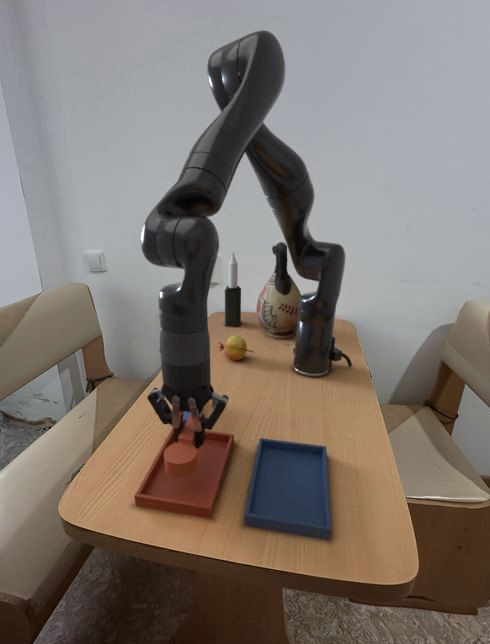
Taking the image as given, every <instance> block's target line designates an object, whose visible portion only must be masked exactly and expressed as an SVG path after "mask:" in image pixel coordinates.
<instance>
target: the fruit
mask: <svg viewBox="0 0 490 644" xmlns="http://www.w3.org/2000/svg"><path fill="white" fill-rule="evenodd" d="M219 345H220V346H219V347H218V348H219V352H221V351H223V352H224V356H225V357H226V358H227V359H229V360H231V361H239V360H241V359H243V358H244V357H245V355H246V353H247V352H250V353H251V354H253V353H254V351H253V350H251V349H250V350H249V349H247V342H246V340H245V339H244V338H243V337H241V336H240V335H232V336H230V337H228V338H227V340H226V342H225V343H222V342H219Z"/></svg>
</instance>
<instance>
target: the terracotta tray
mask: <svg viewBox="0 0 490 644" xmlns="http://www.w3.org/2000/svg"><path fill="white" fill-rule="evenodd" d="M234 436H235V435H234V433H227V432H221V431H219V432H218V431H211V430H205V441H204V443H203V445H202V446H200V448H199V449H197V461H198V467H197V469H196V471H195V472H194V473H193V474H192V475H190V476H187V477H183V478H176V477H172V476H170V475H169V474H168V473H167V472H166V470H165V461H164V452H165V450H166V448H167V447H168V446H170V445H172V444H174V443H176V442H175V440H174V428H173V427H172V428H171V430H170V432H169V433H168V435H167V437H166V438H165V441H164V442H163V444H162V446H161V448H160V449H159V452H158V453H157V455H156V457H155V458H154V460H153V462H152V464H151V466H150V467H149V469H148V470H147V473H146V474H145V477H144V479H143V480H142V481H141V483H140V485H139V487H138V489H137V490H136V492H135V494H134V495H133V496H134V503H135V506H136V507H139V508H146V509H151V510H158V511H163V512H168V513H169V512H170V513H174V514H181V515H187V516H192V517H198V518H204V519H211V520H212V518H213V515H214V511H215V508H216V505H217V501H218V497H219V495H220V491H221V487H222V484H223V481H224V477H225V474H226V471H227V467H228V464H229V460H230V457H231V454H232V450H233V447H234V443H235V437H234Z"/></svg>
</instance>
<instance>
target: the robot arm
mask: <svg viewBox="0 0 490 644" xmlns="http://www.w3.org/2000/svg"><path fill="white" fill-rule="evenodd" d="M206 70H207V79H208V85H209V88H210V91H211V94H212V96H213V98H214V101H215V103H216V105H217V107H218V109H219V110H220V113H219V114H218V115H217V116H216V118H215V119H214V120H213V121H212V122H211V123H210V124H208V126H207V127H206V128H205V130H204V131H203V132H202V133H201V134H200V135H199V137H198V138H197V140H196V141H195V142H194V144H193V145H192V147H191V149H190V150H189V153H188V155H187V158H186V160H185V162H184V165H183V166H182V168H181V171H180V173H179V176H178V178H177V180H176V182H175V183H174V184H173V185H172V186H171V188H170V189H168V190H167V192H166V193H165V194H164V195H163V196H162V198H160V200H159V201H158V202H157V203H156V205H155V206H154V207H153V208H152V210H151V211H150V212H149V214H148V215H147V216H146V219H145V220H144V223H143V225H142V228H141V233H140V248H141V252H142V254H143V256H144V258H145V259H146V261H148V262H149V263H150V264H152V265H153V266H155V267H160V268H167V269H168V268H169V269H178V270H183V277H182V280H181V282H176V283H170V284H167V285H164V286H163V287H161V289H160V290H159V292H158V295H157V296H158V299H157V300H158V315H159V316H158V317H159V328H160V329H159V354H160V363H161V377H162V378H161V379H162V385H161V386H160V387H159V388H158V387H153V388H152V390H151V391H150V392H149V394H148V395H147V397H146V399H147V401H148V402H149V404H150V405H151V407H152V409H153V410H154V412H155V414H156V415H157V417H158V418H159V420H160V421H161V423H162V424H163V425H165V426H166V425H170V426H171V427H172V428H174V440H175V442H176V443H177V442H178V437H179V435H180V433H181V432H182V430H183V428H184V426H185V422H183V418H184V411H187V412H190V413H191V417H192V420H193V421H194V427H195V431H194V435H195V447H196V448H197V449H199V448H200V446H202V445H203V443H204V441H205V431H211V430H213V428H214V426H215V425H216V424H217V422H218V420H219V418H220V417H221V415H222V414H223V412H224V411H225V409H226V407H227V405H228V402H229V396H228V395H226V394H222V395H219V394H218V393H216V392H215V389H214V387H213V386H212V382H211V381H212V380H211V379H212V378H211V377H212V376H211V339H210V338H211V337H210V332H209V331H210V330H209V319H208V315H209V313H208V300H209V299H208V298H209V293H210V288H211V283H212V278H213V275H214V270H215V267H216V263H217V260H218V255H219V251H220V236H219V233H218V230H217V228H216V226H215V224H214V222H213V221H212V220H211V219H210V217H213V216H215V215H216V214H219V212H220V210H221V209H222V207H223V205H224V202H225V200H226V198H227V195H228V192H229V190H230V188H231V185H232V183H233V179H234V177H235V175H236V172H237V170H238V168H239V165H240V162H241V161H242V159H243V157H244V155H245V156H246V158H247V159H248V162H249V164H250V166H251V168H252V170H253V171H254V172H253V173H254V174H255V176H256V178H257V181H258V182H259V185H260V187H261V190H262V192H263V194H264V197H265V199H266V201H267V203H268V205H269V207H270V209H271V211H272V213H273V215H274V217H275V219H276V221H277V224H278V227H279V229H280V230H281V234H282V235H283V238H284V240H285V245H287V251H288V253H289V255H290V259H291V262H292V265H293V268H294V270H295V271H296V273H297V275H298V276H299V277H301V278H302V279H305V280H309V281H315V282H318V285H317V289H316V291H315V290H314V291H309V292H305V293H303V294H301V296H300V298H299V303H298V316H297V329H296V330H295V341H294V348H293V350H292V351H293V352H292V354H293V364H292V369H293V370H294V372H296V373H297V374H299V375H302V376H304V377H310V378H311V377H312V378H316V377H317V378H318V377H323V376H325V375H327V374H328V373H329V372H330V371H331V372H332V369H333V368H332V367H333V362H339V361H342V358H343V359H345V361H346V363H347V366H348V367H350V368H351V367H353V362H352V360H351V359H350V357H349V356H348V355H347V354H346V353H343V350H341V349H339V348H337V347H335V345H336V336H334V328H335V318H336V313H337V312H336V311H337V304H338V301H339V298H340V294H341V288H342V283H343V279H344V272H345V268H346V259H347V257H346V251H345V248H344V246H343V245H341V244H340V243H336V242H328V241H320V240H316V239H315V238H313V236H312V234H311V232H310V228H309V225H308V224H309V223H308V222H309V218H310V216H311V213H312V210H313V207H314V204H315V196H316V195H315V189H314V185H313V182H312V179H311V176H310V173H309V171H308V168H307V165H306V163H305V161H304V160H303V158H302V157H301V155H299V154H298V153H297V152H296V151H295V150H294V149H293V148H292V147H290V145H288V144H287V143H286V142H284V141H283V140H282V139H280V138H279V137H278V136H277V135H276V134H274V132H272V131H271V130H270V129H269V128H268V126H267V125H266V123H265V119H266V118H267V117H268V115H269V113H270V112H271V110H272V109H273V107H274V106H275V104H276V103H277V101H278V99H279V97H280V95H281V93H282V91H283V88H284V84H285V81H286V60H285V56H284V50H283V48H282V46H281V44H280V42H279V40H278V38H277V36H276V35H274V33H273V32H271V31H268V30H264V29H261V30H257V31H254V32H250V33H248V34H246V35H244V36H242V37H239V38H237V39H235V40H233V41H231V42H229V43H226V44H225V45H223V46H221V47H218V48H217V49H215V50H214V51H213V52H211V54H210V56H209V58H208V61H207V69H206ZM209 401H211V402H212V404H211V407H212V409H213V410H212V411H211V413H210V415H209V416H208V417H206V413H205V410H206V408H205V406H206V405H207V404H208V403H209ZM169 404H170V405H171V406H172V407H170V405H169ZM204 413H205V414H204Z"/></svg>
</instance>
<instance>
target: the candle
mask: <svg viewBox="0 0 490 644" xmlns="http://www.w3.org/2000/svg"><path fill="white" fill-rule="evenodd" d="M238 268H239V267H238V261H237V260H236V256H235V252H234V251H233V252H232V253H231V257H230V260H229V262H228V285H226V288H225V289H224V326H225V327H231V328H239V327H240V324H242V323H241V322H242V321H241V320H242V288H241V287H240V286H239V285H238Z"/></svg>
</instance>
